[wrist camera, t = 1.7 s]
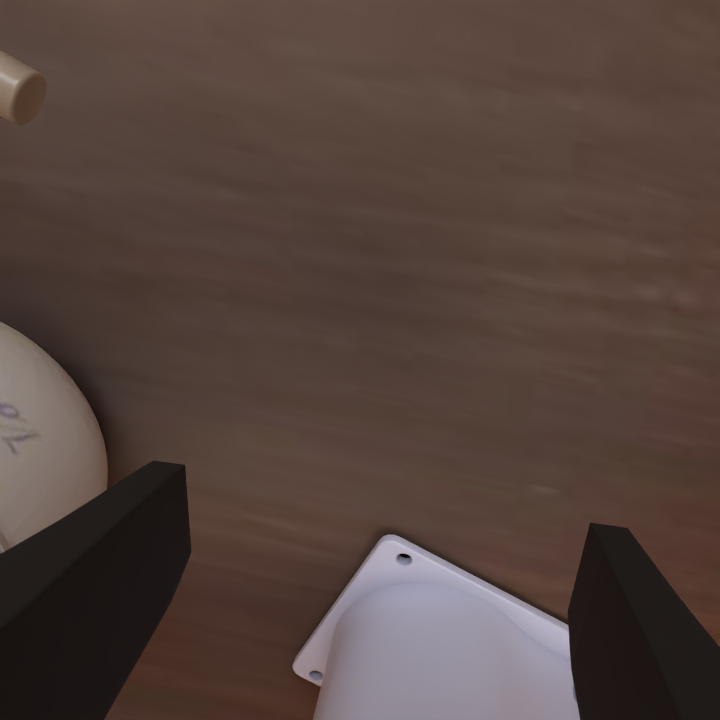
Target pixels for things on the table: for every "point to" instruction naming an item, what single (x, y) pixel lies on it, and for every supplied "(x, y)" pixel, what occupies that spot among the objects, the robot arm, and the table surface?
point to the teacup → (43, 441)
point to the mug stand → (19, 90)
